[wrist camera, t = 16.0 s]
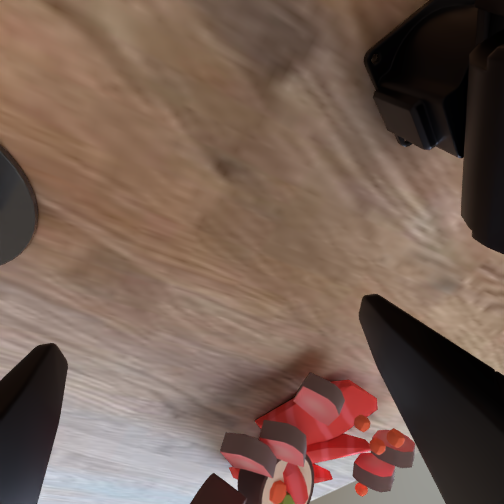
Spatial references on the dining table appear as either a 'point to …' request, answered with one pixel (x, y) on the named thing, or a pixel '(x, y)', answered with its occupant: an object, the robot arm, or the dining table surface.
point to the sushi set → (308, 448)
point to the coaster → (15, 209)
